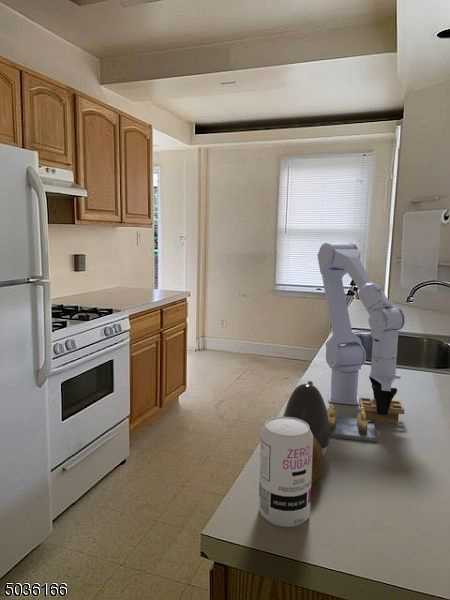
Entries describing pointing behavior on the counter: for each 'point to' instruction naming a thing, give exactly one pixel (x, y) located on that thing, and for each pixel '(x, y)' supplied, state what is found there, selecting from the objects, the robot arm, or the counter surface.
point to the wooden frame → (371, 406)
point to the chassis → (352, 426)
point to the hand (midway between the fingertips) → (380, 409)
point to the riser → (382, 417)
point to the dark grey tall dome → (310, 412)
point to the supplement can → (285, 471)
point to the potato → (316, 460)
